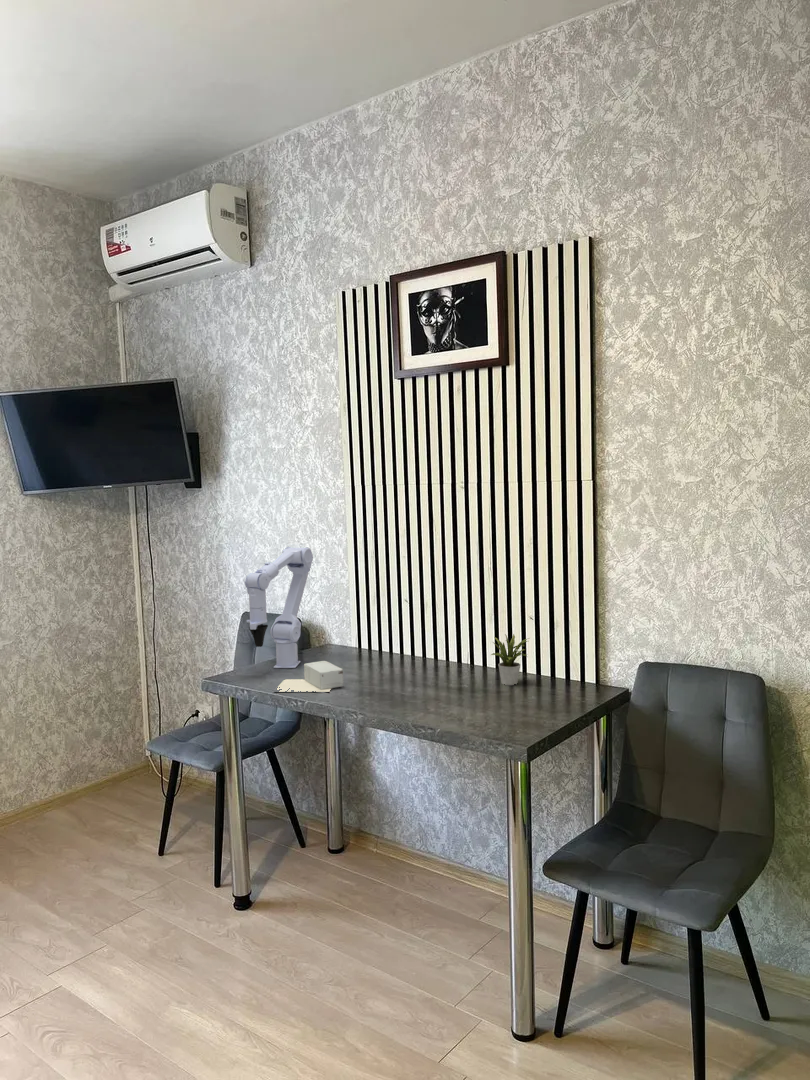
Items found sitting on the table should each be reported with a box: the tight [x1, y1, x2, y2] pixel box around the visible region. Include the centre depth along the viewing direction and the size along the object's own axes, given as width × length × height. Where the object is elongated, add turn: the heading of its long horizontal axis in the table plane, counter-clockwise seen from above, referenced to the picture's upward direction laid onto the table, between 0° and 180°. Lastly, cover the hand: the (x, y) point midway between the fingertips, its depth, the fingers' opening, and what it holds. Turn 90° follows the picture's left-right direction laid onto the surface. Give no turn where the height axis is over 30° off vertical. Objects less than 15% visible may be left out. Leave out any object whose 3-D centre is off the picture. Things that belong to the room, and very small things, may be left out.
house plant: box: [490, 633, 530, 686], centre depth 257 cm, size 14×14×16 cm
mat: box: [276, 678, 333, 693], centre depth 260 cm, size 15×18×1 cm
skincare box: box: [303, 660, 344, 690], centre depth 262 cm, size 8×6×15 cm
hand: (259, 646), depth 275 cm, fingers closed
